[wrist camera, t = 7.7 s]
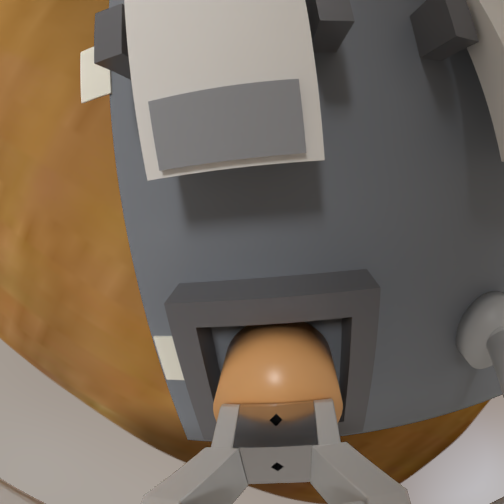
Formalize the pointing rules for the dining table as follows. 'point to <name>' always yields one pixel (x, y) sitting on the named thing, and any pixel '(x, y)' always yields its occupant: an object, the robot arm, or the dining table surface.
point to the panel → (334, 222)
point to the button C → (278, 367)
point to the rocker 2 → (490, 59)
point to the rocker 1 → (223, 84)
